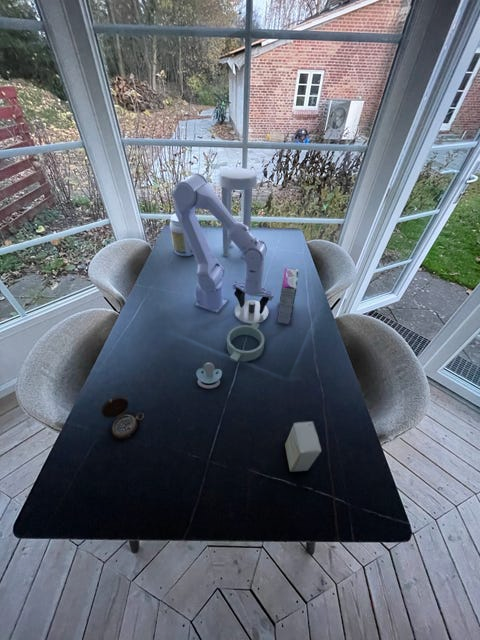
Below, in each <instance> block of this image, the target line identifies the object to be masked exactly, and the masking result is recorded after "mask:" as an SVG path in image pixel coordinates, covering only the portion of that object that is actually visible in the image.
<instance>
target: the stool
mask: <svg viewBox="0 0 480 640" xmlns="http://www.w3.org/2000/svg"><path fill="white" fill-rule="evenodd" d="M217 184H218V185H219V187H221V202H222V203H223V205H224V206H225V207H226V209H227V210H228V211H229V213H230V214H231V215H232V214H233V213H232V211H233V210H232V209H233V207H232V201H233V199H232V198H233V197H232V194H233V191H234V190H235V191H243V218H242V219H243V220H242V223H243V224H244V225H247V226H248V227H249V229H248V230H249V231H250V232H251V227H252V226H251V225H252V205H253V189H254V188H255V187H257V184H258V172H256V171H255V170H253V169H249V168H242V167H232V168H231V167H230V168H225V169H221V170H220V171H219V172H218V174H217ZM232 216H233V215H232ZM232 242H233V241H232V240H231V239H230V238H229V237H228V230H227V229H226V228H225V227H224V226H223V225H222V256H223V257H227V258H228V257H229V254H230V253H229V250H230V248H232V245H233V243H232ZM243 256H244V254H243V253H242V252H241V257H242V259H244V258H243Z"/></svg>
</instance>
